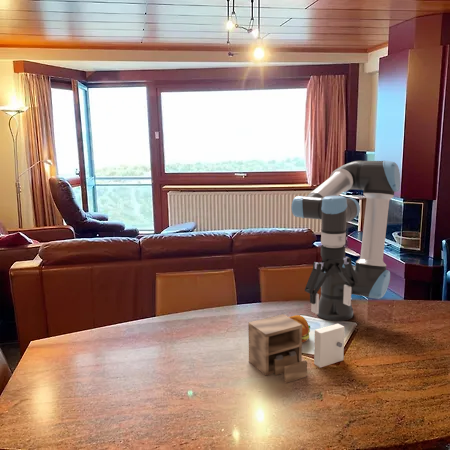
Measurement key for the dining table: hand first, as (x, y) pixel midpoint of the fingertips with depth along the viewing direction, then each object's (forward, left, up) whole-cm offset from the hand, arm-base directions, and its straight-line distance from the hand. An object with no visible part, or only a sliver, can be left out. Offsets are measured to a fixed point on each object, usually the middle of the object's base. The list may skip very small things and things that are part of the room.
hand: (331, 308), depth 144 cm
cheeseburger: (-19, +1, -19) cm, 27 cm away
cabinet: (-5, -16, -19) cm, 25 cm away
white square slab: (0, 0, -19) cm, 19 cm away
